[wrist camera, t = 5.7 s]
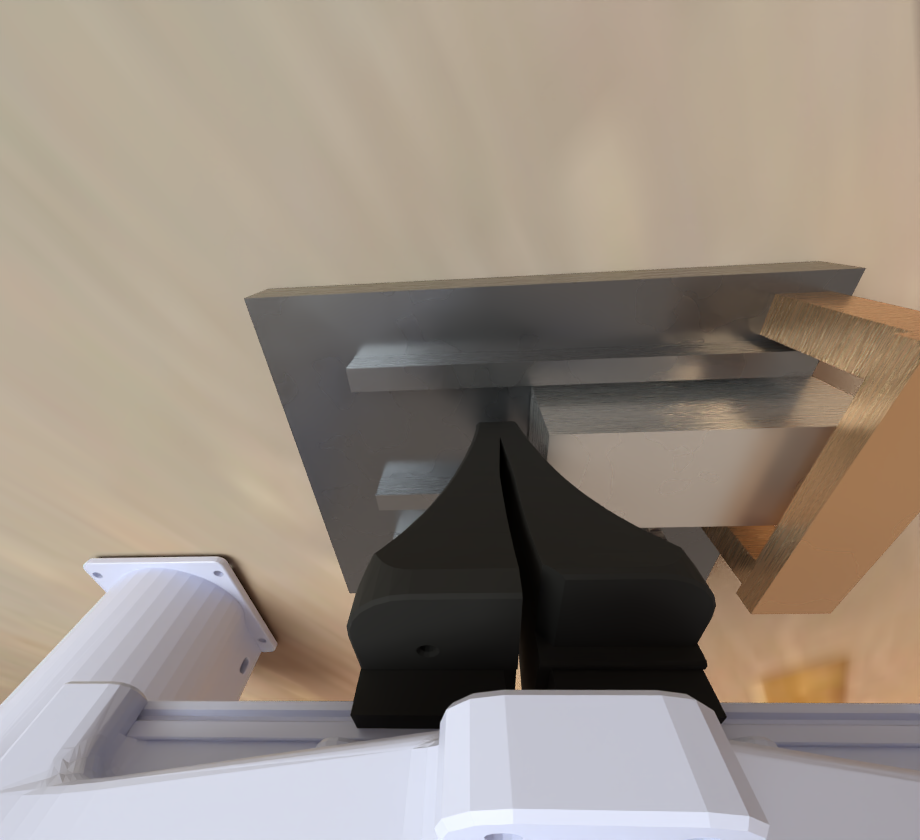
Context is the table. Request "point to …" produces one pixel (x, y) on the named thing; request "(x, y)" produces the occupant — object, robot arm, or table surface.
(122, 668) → the robot arm
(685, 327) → the base
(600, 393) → the bar
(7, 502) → the table surface
